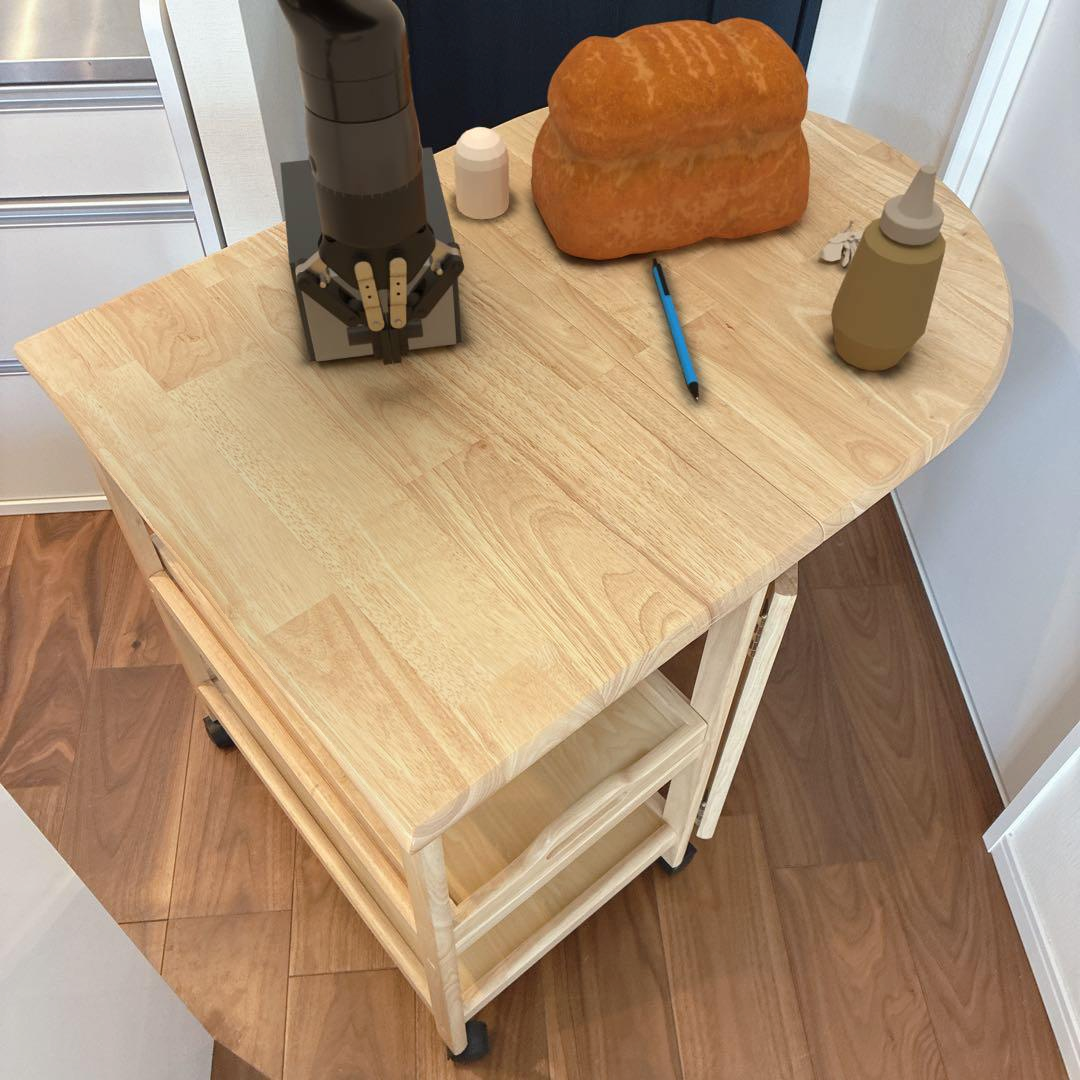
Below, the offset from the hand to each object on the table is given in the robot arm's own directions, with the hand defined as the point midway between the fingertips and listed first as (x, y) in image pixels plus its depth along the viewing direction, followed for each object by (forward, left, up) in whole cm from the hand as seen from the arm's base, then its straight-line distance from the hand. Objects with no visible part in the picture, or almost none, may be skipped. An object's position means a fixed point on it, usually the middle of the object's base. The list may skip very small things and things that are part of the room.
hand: (391, 357), depth 85 cm
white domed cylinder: (+12, +27, -5) cm, 30 cm away
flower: (+46, +11, -5) cm, 47 cm away
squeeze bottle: (+42, -1, -5) cm, 42 cm away
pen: (+26, +5, -5) cm, 27 cm away
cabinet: (0, +14, -5) cm, 15 cm away
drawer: (0, +10, -4) cm, 11 cm away
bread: (+30, +23, -5) cm, 38 cm away
